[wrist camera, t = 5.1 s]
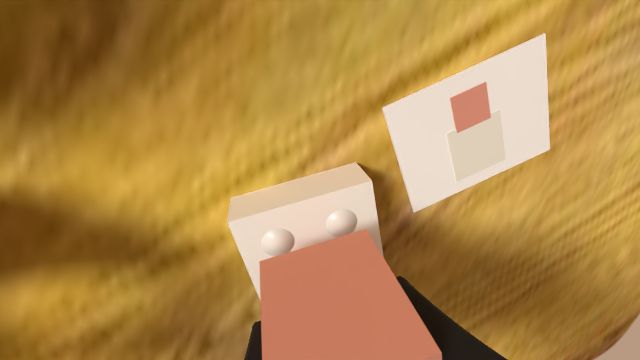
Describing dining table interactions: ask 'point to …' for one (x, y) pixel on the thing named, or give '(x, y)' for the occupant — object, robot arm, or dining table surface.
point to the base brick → (302, 215)
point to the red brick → (338, 306)
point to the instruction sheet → (472, 124)
